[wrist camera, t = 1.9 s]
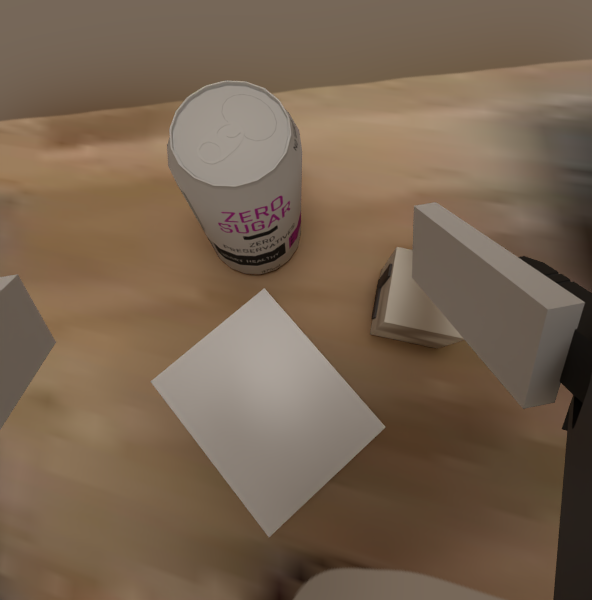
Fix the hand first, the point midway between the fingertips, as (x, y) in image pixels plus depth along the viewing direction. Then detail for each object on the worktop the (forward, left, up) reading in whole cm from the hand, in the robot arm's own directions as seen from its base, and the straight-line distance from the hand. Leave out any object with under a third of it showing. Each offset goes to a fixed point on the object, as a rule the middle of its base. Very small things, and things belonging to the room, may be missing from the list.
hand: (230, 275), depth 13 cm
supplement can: (+9, -6, -22) cm, 25 cm away
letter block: (-5, -12, -22) cm, 25 cm away
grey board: (-3, +3, -22) cm, 22 cm away
